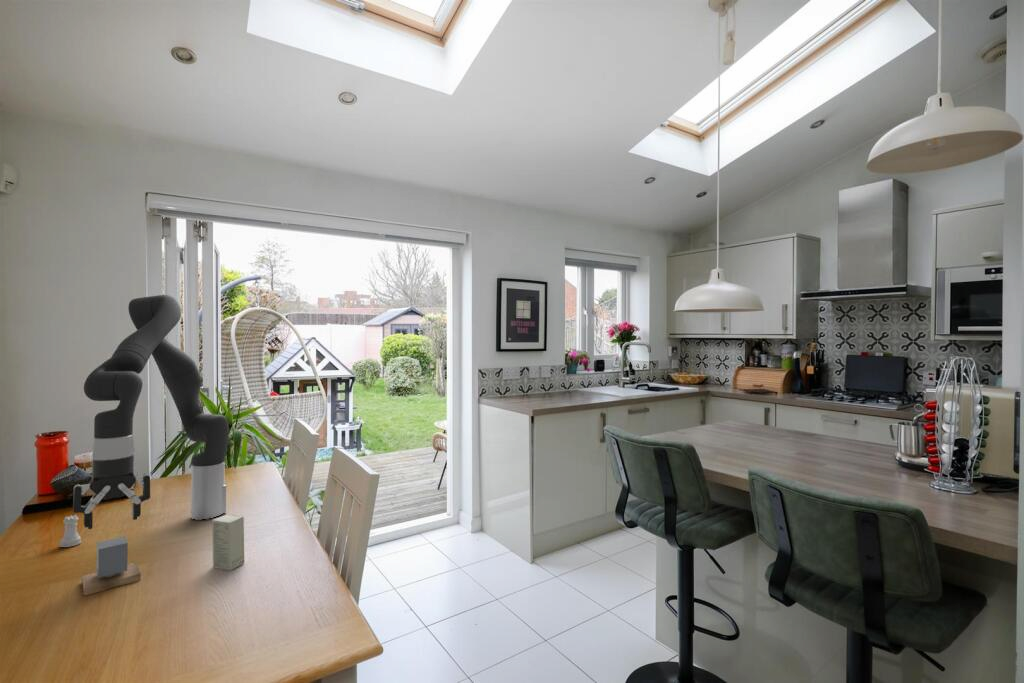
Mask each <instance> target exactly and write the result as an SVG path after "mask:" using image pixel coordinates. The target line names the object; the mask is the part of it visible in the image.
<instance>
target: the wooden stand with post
mask: <svg viewBox="0 0 1024 683" xmlns="http://www.w3.org/2000/svg"><path fill="white" fill-rule="evenodd" d="M141 575H142V574H141V571H140V568H139V566H138V563H137V562H132V563H129V564H128V563H127V571H124V572H120V573H116V574H112V575H108V576H104V577H100V578H98V575H97V571H96V572H92V573H89V574H88V573H87V574H83V575H82V576H81V585H83V586H82V590H83V591H84V592H83V596H84V595H85V596H88V595H91V594H95V593H99V592H102V591H106V590H110V589H113V588H117V587H120V586H123V585H128V584H132V583H136V582H140V581H141V579H142V578H141Z"/></svg>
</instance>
